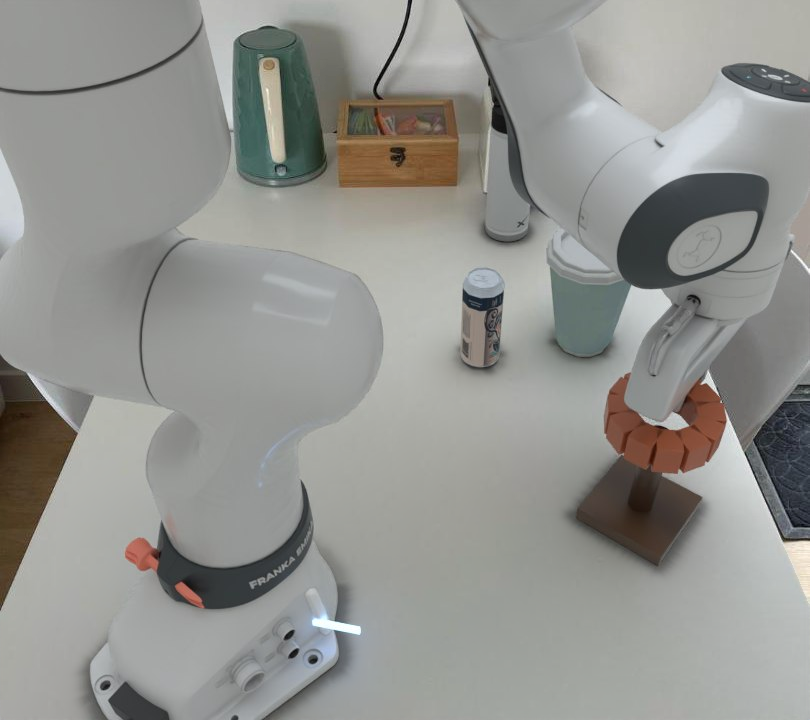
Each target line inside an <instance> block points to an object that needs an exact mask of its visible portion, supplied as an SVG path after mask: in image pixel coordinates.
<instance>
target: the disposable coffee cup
mask: <svg viewBox="0 0 810 720" xmlns="http://www.w3.org/2000/svg"><path fill="white" fill-rule="evenodd" d="M545 252H546V253H545V255H546V256H545V257H546V264H547V265H548V266H549V275H550V285H551V298H552V310H553V311H552V312H553V321H554V332H555V333H554V334H555V335H554V336H555V340H556V342H557V345H558V346H559V347H560V348H561V349H562V350H563V351H564V352H565V353H567V354H570V355H572V356H575V357H580V358H581V357H582V358H591V357H594V356H598V355H600V354H602V353H603V352H604V350H606V348H607V347H608V346H609V344H610V343H611V341H612V339H613V336H614V333H615V331H616V328H617V326H618V322H619V320H620V318H621V314H622V312H623V309H624V307H625V304H626V301H627V299H628V295H629V293H630V290H631V288H632V285H631V284H629V283H628V282H627V281H625V280H624V279H622V278H621V277H620V276H618V275H617V274H616V273H614V272H613V271H612V270H611V269H610V268H608V267H607V266H606V265H605V264H603V263H602V262H601V261H600V260H599V259H598V258H597V257H595V256H594V255H593V254H592V253H591V252H589V251H588V250H587V249H585V248H584V247H583V246H582V245H581V244H580V243H579V242H577V241H576V240H575V239H574V238H573V237H572V236H570V235H569V234H568V233H567V232H566V231H565V230H563V229H562V228H561V227H560V226H559V228H558V229H557V230H556V231H555V232H554V233H553V234H552V238H551V239H550V240H549V241H548V242H547V246H546V249H545Z"/></svg>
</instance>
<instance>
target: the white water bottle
mask: <svg viewBox="0 0 810 720" xmlns="http://www.w3.org/2000/svg"><path fill="white" fill-rule="evenodd" d="M492 106H493V107H492V108H491V120H490V121H491V122H490V129H489V131H490V132H489V148H488V149H489V150H488V169H487V187H486V205H485V206H486V207H485V222H484V223H485V224H484V231H485V233H486V234H487V236H488V237H490V238H492V239H493V240H496V241H498V242H499V241H500V242H509V243H510V242H516V241H519V240H521V239H523V238H524V237H526V236H527V234H528V231H529V222H530V213H531V205H530V204H528V203H527V202H525V201H524V200H523V199H522V198H521V197H520V196H519V194H518V193H517V191H516V190H515V188H514V186H513V183H512V181H511V177H510V172H509V164H508V137H507V127H506V121H505V117H504V114H503V111H502V108H501V105H500V103H499V100H498V99H497V100H495V102H494V104H493V105H492Z"/></svg>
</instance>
